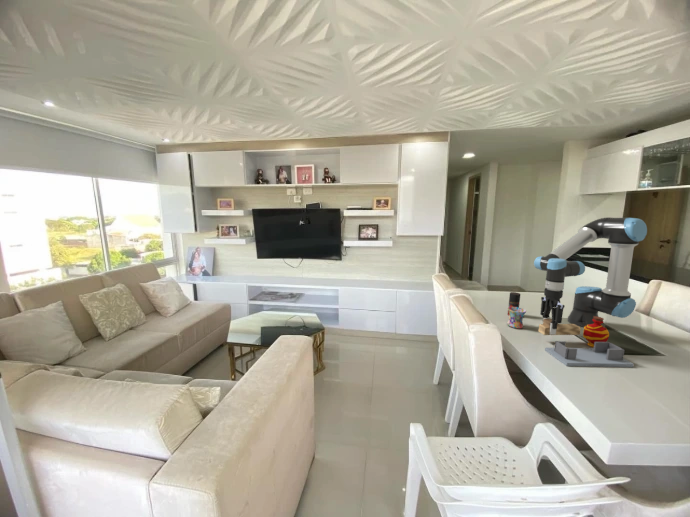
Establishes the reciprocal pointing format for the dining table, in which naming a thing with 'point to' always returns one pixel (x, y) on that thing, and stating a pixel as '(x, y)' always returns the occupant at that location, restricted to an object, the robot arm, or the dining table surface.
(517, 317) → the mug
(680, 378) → the dining table surface
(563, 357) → the grey slat holder base
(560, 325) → the tan stepped wooden block
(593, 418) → the dining table surface
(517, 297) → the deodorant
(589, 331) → the potion bottle
